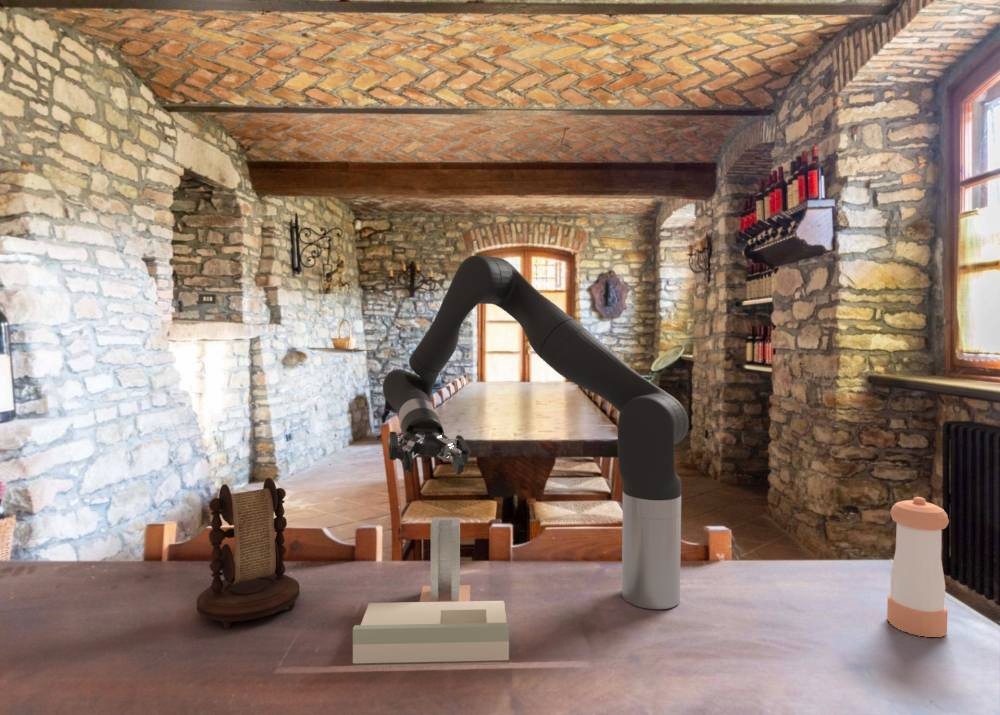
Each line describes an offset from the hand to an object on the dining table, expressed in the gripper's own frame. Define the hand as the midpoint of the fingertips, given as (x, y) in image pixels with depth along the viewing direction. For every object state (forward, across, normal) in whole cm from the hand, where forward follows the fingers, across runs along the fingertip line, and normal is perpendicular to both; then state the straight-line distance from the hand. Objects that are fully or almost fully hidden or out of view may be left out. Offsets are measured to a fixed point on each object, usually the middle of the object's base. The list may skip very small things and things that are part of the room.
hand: (435, 469), depth 100 cm
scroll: (+6, -27, +22) cm, 36 cm away
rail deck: (+24, -2, +13) cm, 27 cm away
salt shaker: (+40, +65, 0) cm, 76 cm away
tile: (+12, +2, +17) cm, 21 cm away
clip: (+12, +2, +16) cm, 20 cm away
